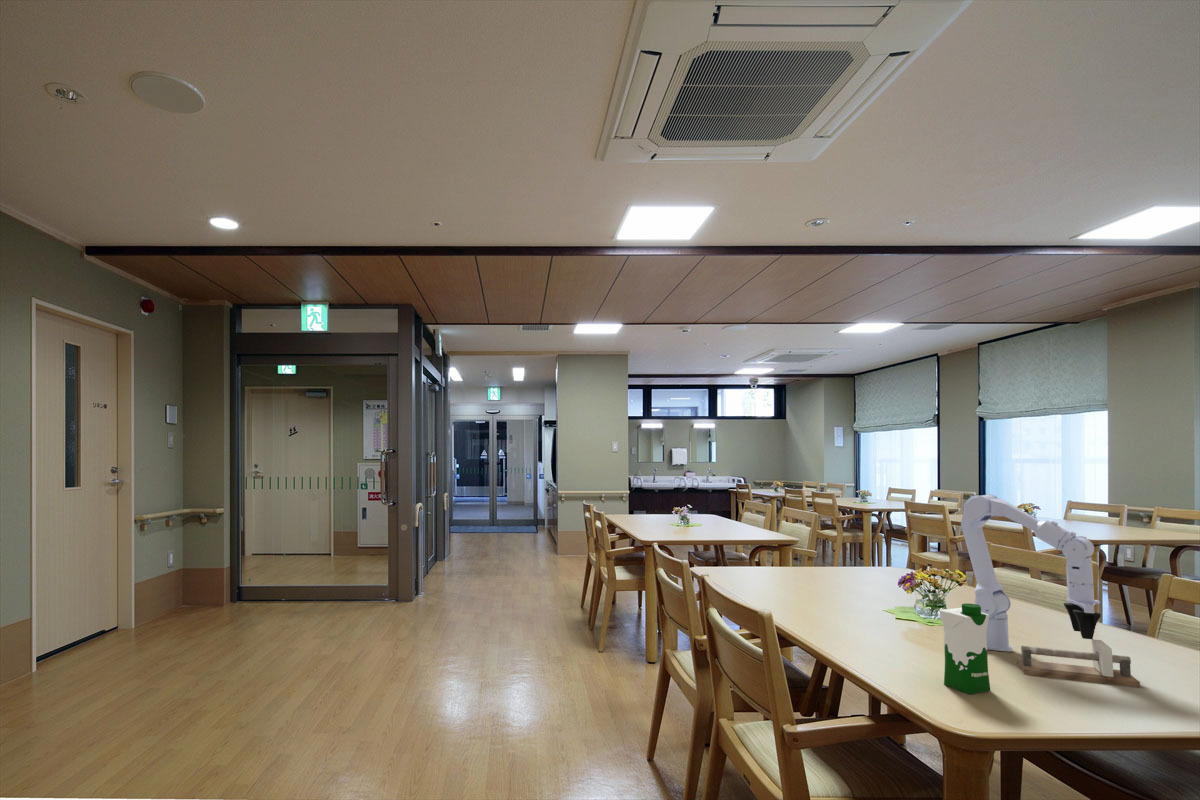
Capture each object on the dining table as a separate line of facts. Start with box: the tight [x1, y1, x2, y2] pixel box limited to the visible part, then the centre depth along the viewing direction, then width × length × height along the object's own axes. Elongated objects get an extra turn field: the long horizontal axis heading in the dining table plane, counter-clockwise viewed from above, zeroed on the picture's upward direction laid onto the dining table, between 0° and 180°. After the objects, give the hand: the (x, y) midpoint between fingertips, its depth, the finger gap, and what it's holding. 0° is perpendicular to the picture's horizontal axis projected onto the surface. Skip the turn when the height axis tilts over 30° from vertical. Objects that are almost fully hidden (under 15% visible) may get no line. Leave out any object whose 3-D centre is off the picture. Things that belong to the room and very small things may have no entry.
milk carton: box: [939, 603, 991, 695], centre depth 158 cm, size 9×9×20 cm
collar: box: [1091, 638, 1114, 677], centre depth 164 cm, size 2×8×7 cm, turn 157°
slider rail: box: [1016, 645, 1141, 688], centre depth 166 cm, size 24×9×6 cm, turn 67°
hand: (1082, 634), depth 173 cm, fingers open, 7 cm apart
